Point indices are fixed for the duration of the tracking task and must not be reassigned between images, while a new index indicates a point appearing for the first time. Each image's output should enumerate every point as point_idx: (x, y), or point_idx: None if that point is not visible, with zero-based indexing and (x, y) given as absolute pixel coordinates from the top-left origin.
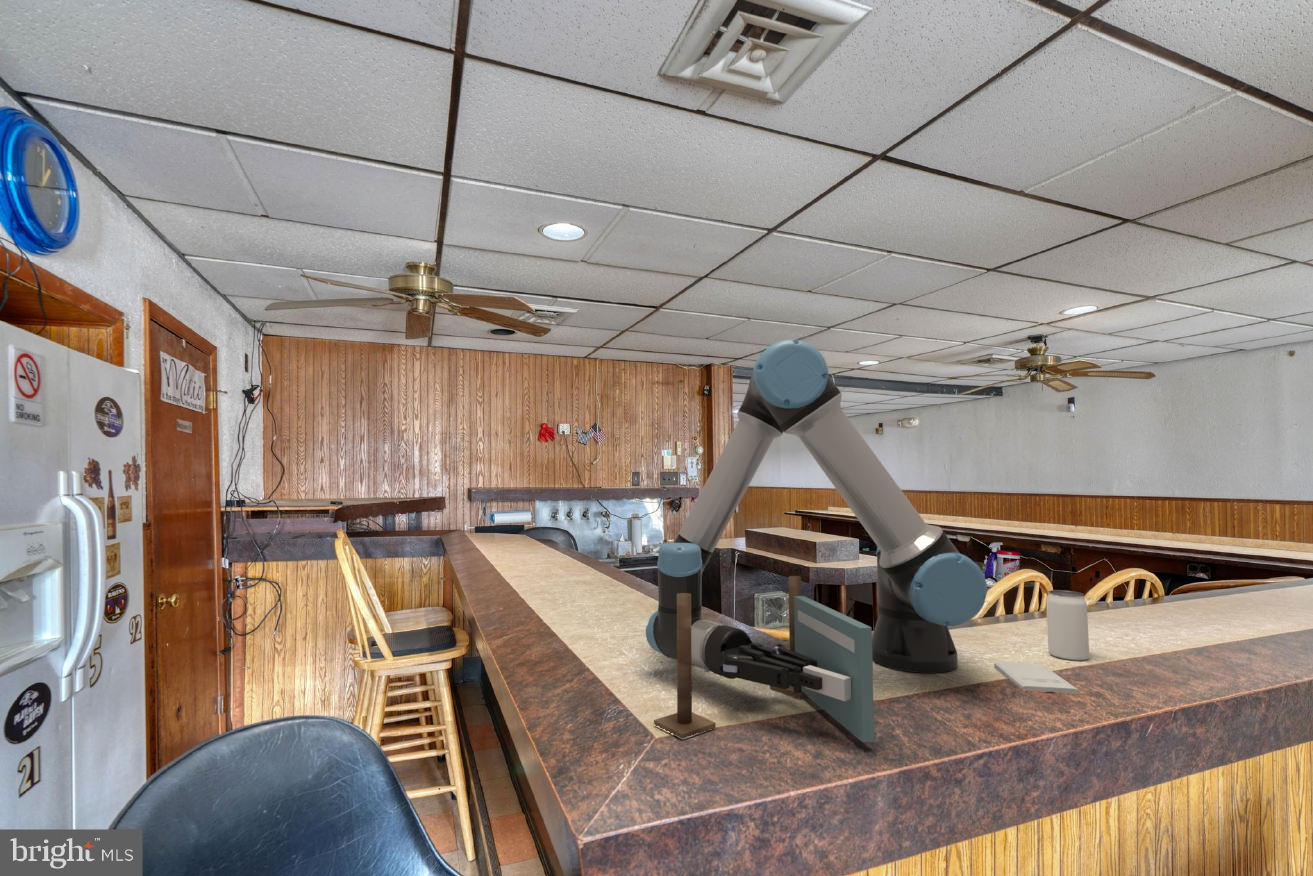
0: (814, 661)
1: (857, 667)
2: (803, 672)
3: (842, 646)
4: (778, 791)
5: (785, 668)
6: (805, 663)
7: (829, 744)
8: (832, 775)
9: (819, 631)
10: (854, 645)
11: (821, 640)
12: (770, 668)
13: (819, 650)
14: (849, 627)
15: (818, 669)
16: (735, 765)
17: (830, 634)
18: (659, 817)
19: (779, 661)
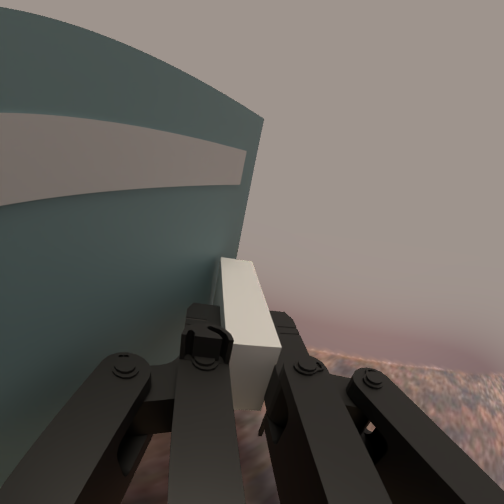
0: (131, 358)
1: (237, 216)
2: (278, 361)
3: (203, 186)
4: (402, 368)
5: (370, 372)
6: (204, 375)
7: (241, 411)
8: (319, 360)
9: (22, 189)
10: (243, 164)
11: (39, 245)
12: (424, 415)
13: (22, 325)
14: (240, 118)
15: (242, 309)
16: (440, 426)
17: (144, 163)
18: (499, 376)
19: (330, 478)
